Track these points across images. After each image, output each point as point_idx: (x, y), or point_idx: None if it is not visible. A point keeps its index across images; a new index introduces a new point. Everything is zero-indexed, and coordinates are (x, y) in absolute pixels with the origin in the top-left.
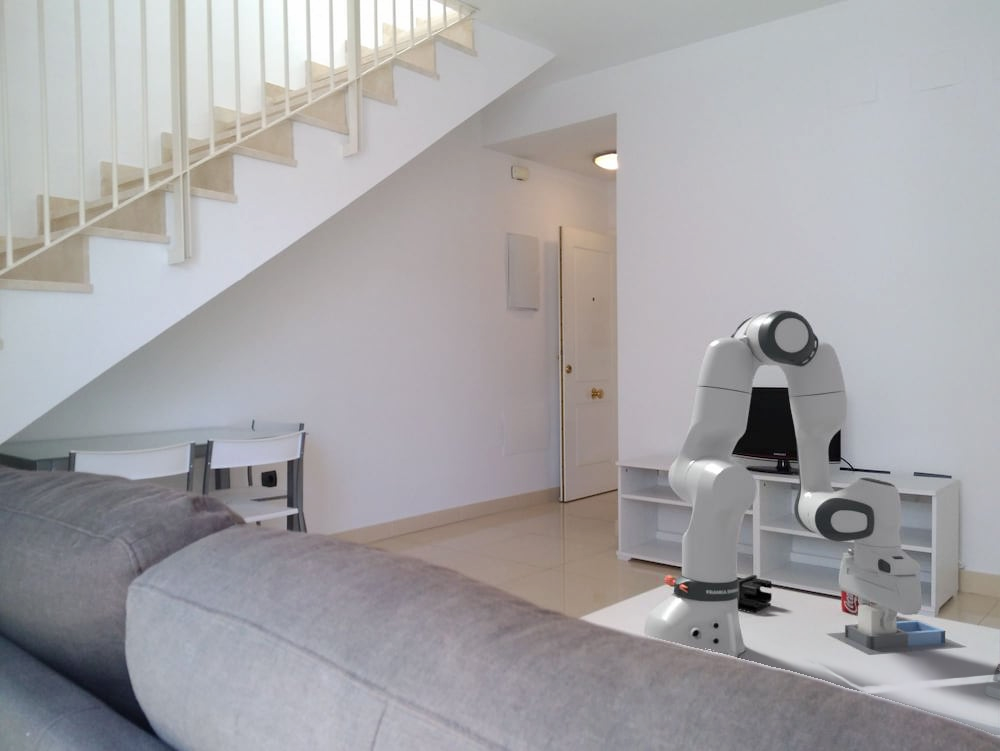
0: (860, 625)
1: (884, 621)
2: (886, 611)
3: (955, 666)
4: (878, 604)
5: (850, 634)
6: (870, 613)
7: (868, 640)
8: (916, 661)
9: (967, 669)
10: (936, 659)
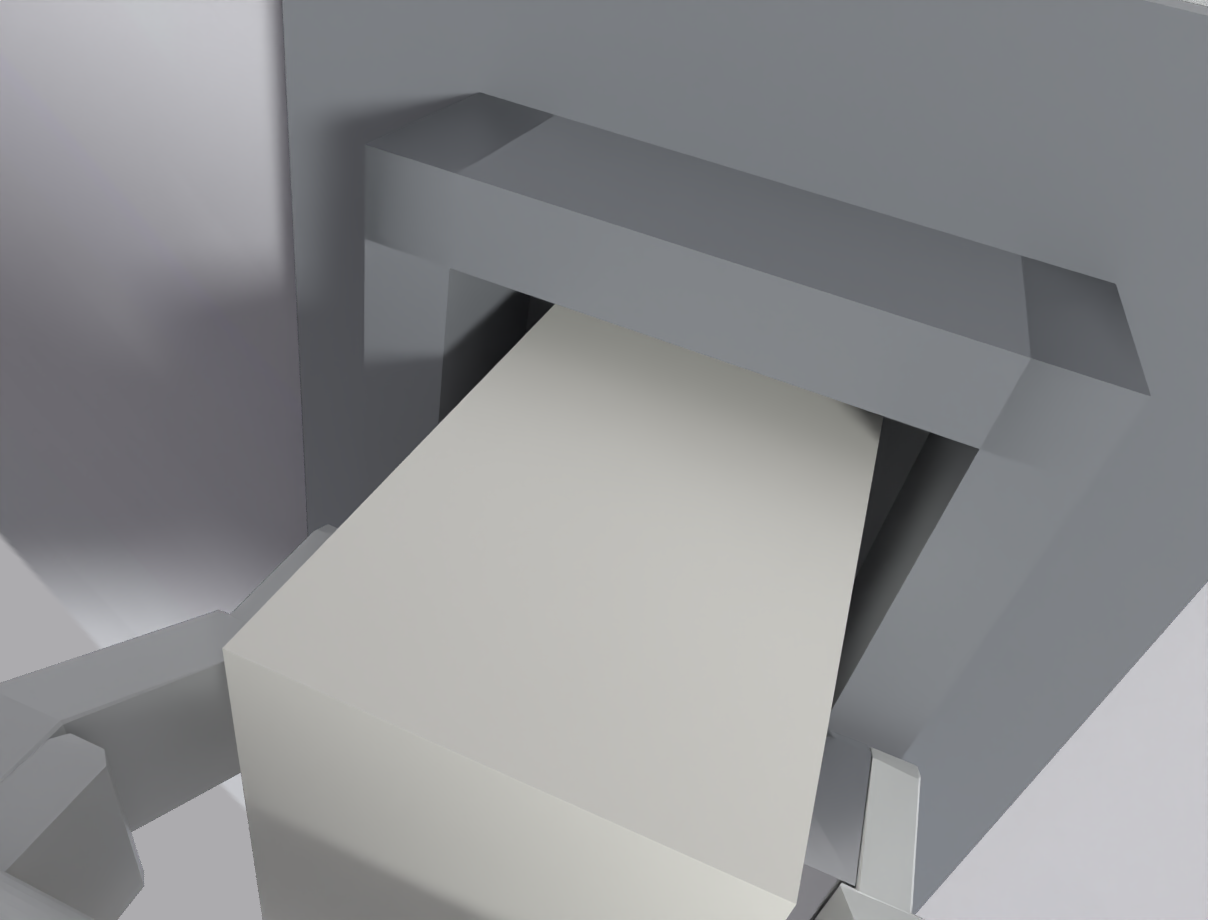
0: (791, 491)
1: (263, 601)
2: (7, 739)
3: (96, 495)
4: (45, 905)
5: (954, 270)
6: (306, 604)
7: (450, 133)
8: (214, 349)
9: (42, 499)
10: (241, 537)
